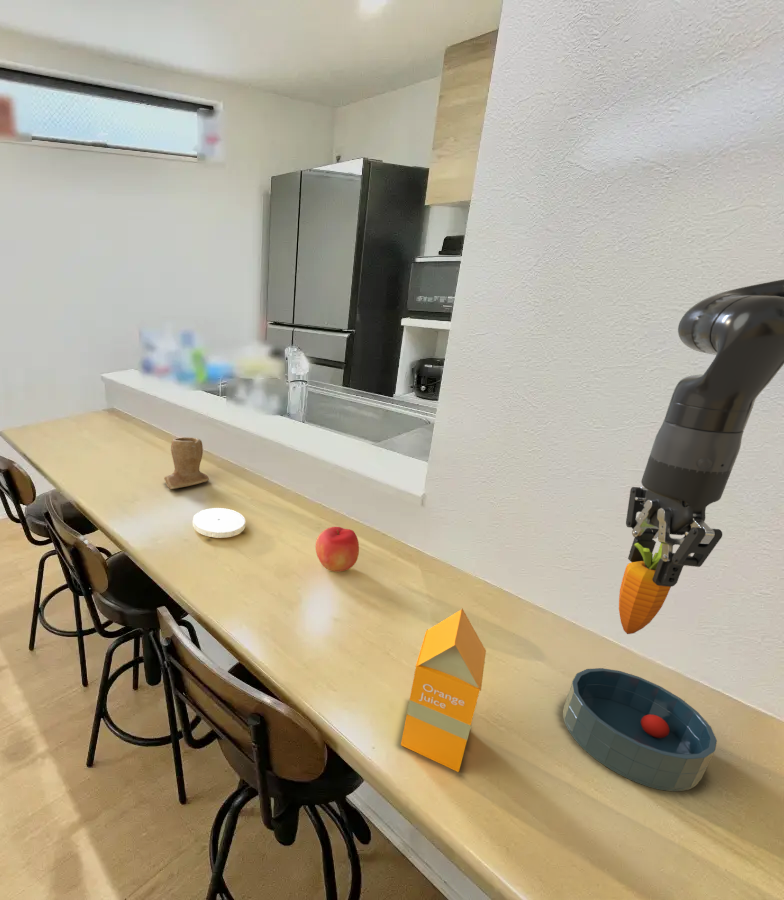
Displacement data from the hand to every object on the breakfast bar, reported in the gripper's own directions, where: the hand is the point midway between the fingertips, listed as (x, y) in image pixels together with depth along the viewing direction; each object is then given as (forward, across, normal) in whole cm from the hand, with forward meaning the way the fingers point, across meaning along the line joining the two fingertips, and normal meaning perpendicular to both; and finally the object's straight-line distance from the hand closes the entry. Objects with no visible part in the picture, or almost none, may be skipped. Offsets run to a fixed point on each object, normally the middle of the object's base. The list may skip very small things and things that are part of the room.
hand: (649, 572), depth 68 cm
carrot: (+11, 0, 0) cm, 11 cm away
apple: (+25, +31, +39) cm, 56 cm away
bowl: (+25, -5, -1) cm, 26 cm away
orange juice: (+25, -11, +26) cm, 38 cm away
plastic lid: (+25, +44, +68) cm, 85 cm away
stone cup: (+25, +72, +84) cm, 113 cm away
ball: (+23, -4, -4) cm, 24 cm away
